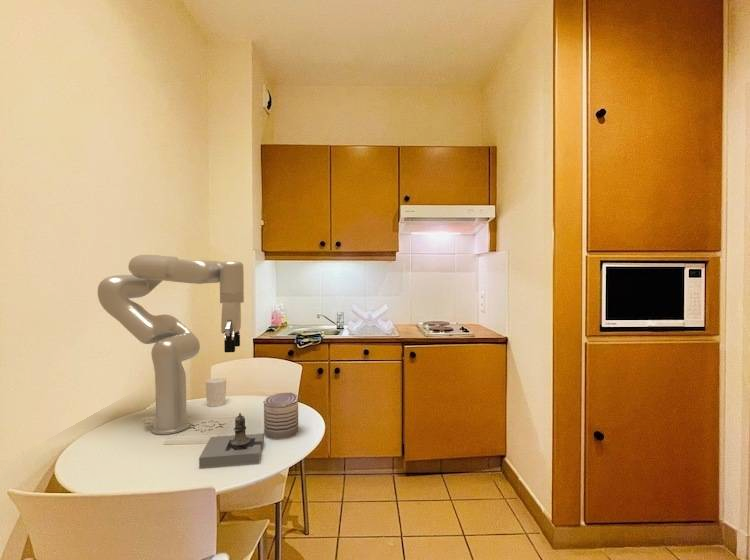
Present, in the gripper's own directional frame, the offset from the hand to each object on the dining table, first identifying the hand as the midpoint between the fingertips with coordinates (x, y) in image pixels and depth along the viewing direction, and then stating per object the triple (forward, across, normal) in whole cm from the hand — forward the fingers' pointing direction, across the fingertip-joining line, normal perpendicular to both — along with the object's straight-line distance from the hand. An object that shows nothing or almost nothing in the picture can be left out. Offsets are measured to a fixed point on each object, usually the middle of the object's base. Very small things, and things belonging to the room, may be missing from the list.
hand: (232, 349), depth 135 cm
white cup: (+28, -31, -12) cm, 44 cm away
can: (+29, +3, +16) cm, 33 cm away
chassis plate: (+28, +17, +3) cm, 33 cm away
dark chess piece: (+28, +17, +5) cm, 33 cm away
